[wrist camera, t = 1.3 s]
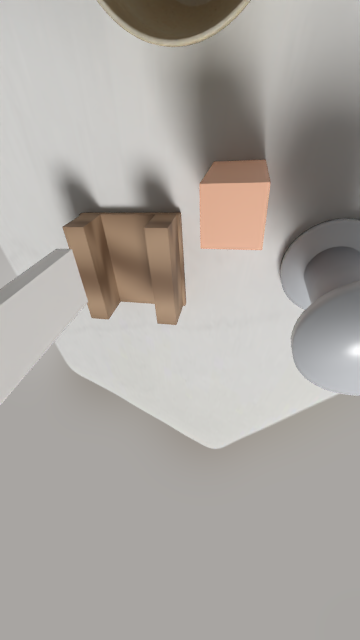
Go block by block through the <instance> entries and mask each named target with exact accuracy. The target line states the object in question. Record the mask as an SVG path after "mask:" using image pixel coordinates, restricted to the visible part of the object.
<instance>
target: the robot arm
mask: <svg viewBox="0 0 360 640" xmlns="http://www.w3.org/2000/svg"><path fill="white" fill-rule="evenodd" d="M87 303H88V300H87V296H86V293H85V290H84V287H83V284H82V280H81V277H80V274H79V271H78V267H77V264H76V261H75V258H74V254H73V251H72V249H55V250H54V251H53V252H51V253H50V254H48V255H47V256H46V257H44V258H43V259H41V260H40V261H39V262H37V263H36V264H34V265H33V266H32V267H30V268H29V269H28V270H26V271H25V272H23V273H22V274H21V275H19V276H18V277H16V278H15V279H14V280H12V281H11V282H9V283H8V284H7V285H5V286H4V287H3V288H1V289H0V405H1V404H2V403H3V401H4V400H5V399H6V398H7V397H8V396H9V394H10V393H11V392H12V391H13V390H14V389H15V387H16V386H17V385H18V384H19V383H20V382H21V380H22V379H23V378H24V377H25V376H26V374H27V373H28V372H29V371H30V370H31V369H32V367H33V366H34V365H35V364H36V363H37V361H38V360H39V359H40V358H41V357H42V355H43V354H44V353H45V352H46V351H47V350H48V348H49V347H50V346H51V345H52V344H53V343H54V341H55V340H56V339H57V338H58V337H59V336H60V334H61V333H62V332H63V331H64V330H65V329H66V327H67V326H68V325H69V324H70V323H71V321H72V320H73V319H74V318H75V317H76V316H77V314H78V313H79V312H80V311H81V310H82V309H83V307H84V306H85V305H86V304H87Z"/></svg>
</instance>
